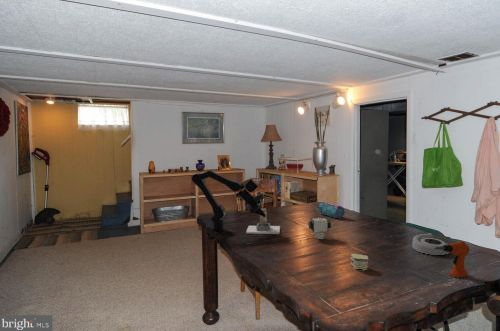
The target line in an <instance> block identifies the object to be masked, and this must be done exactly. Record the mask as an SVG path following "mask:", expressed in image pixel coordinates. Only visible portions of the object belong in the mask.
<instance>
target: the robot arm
mask: <svg viewBox="0 0 500 331" xmlns="http://www.w3.org/2000/svg"><path fill="white" fill-rule="evenodd" d="M207 178H210V179H213V180H214V181H217V182H219V183H221V184H223V185H225V186H226V187H227V188H228V189H230V190H231V191H233V192H234V193H235V195H236V196H235V198H236V199H237V198H238V197H239V198H241V199H242V200H243V201H244V202H245V203H244V204H247V206H249V208H250V209H249V212H250V213H251V214H256V215H259V216H260V215H261V216H264V217H265V216H266V215H265V214H264V212H263V211H262V209H263V206H262V204H263V203H262V200H264V199H265V195H264V193H263V192H261V191H258V192H257V194H256V195H253V194H251V193H254V192H255V191H256V190H257V189H258V188H259V187H260V185H259V184H258V183H257V182H256V181H255V180H254V179H252V178H250V179H249V180H248V181H247V183H241V182H240V181H237V180H234V179H229V178H228V177H225V176H224V175H221V174H219V173H217V172H215V171H213V170H211V169H209V170H208V171H205V172H202V173H201V172H197V173H195V174H193V175H192V176H191V181H192V183H194V185H196V186H197V187H198V189H200V191H201V192H202V194H203V195H204V198H206V200H207V202H208V203H209V205H210V206H211V208H212V212H213V214H214V215H213V216H212V217H211V218H210V220H211V228H210V231H213V232H220V231H223V230H225V227H224V221H223V218H224V217H225V215H226V213H227V212H226V207H225V206H224V205H223V203H221V204H219V203H218V201H217V199H216V198H215V196H214V195H213V193H212V192H211V190H210V189H209V187H208V186H207V184H206V180H205V179H207Z"/></svg>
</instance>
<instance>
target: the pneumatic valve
mask: <svg viewBox="0 0 500 331" xmlns="http://www.w3.org/2000/svg"><path fill="white" fill-rule="evenodd" d="M307 224H308V229H309V230H311V231H312V233H313V232H315V233H314V234H313V236H314V238H315V239H316V240H324V238H325V236H326V235H325V233H324V232H329V230H330V229H331V227H332V223H331V221H330V220H329V219H327V218H326V217H324V218H323V217H322V218H321V217H318V218H310V220H309V221H308V223H307Z"/></svg>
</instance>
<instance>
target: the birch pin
mask: <svg viewBox="0 0 500 331" xmlns="http://www.w3.org/2000/svg"><path fill="white" fill-rule="evenodd" d="M262 208H263V207H262ZM262 211H263V212H264V214H265V215H266V216H265V217H264V216H261V215H259V216H260V217H259V223H260V226H267V223H268V222H267V221H268V219H267V217H268V216H267V214H268V213H267V208H265V207H264V208H263V209H262Z"/></svg>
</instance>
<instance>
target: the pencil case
mask: <svg viewBox="0 0 500 331" xmlns="http://www.w3.org/2000/svg"><path fill="white" fill-rule="evenodd" d="M316 208H317V209H318V212H319V213H320V214H322V215H324V216H326V215H327V217H331V218H334V219H339V218H340V219H342V218H343V217H344V215H345V212H346V210H345V208H344V207H343V206H342V205H331V204H328V203H327V202H326V201H322V202H321V203H319V205H317V206H316ZM340 219H339V220H340Z"/></svg>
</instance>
